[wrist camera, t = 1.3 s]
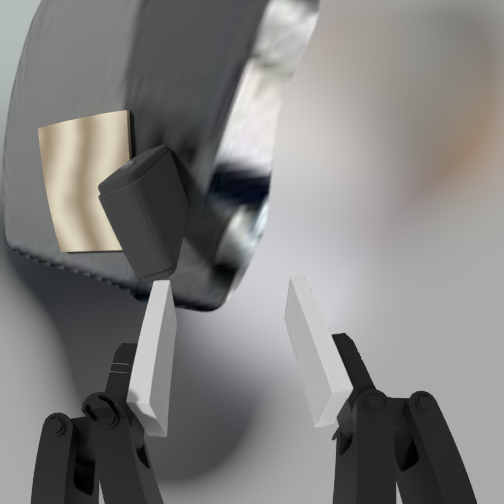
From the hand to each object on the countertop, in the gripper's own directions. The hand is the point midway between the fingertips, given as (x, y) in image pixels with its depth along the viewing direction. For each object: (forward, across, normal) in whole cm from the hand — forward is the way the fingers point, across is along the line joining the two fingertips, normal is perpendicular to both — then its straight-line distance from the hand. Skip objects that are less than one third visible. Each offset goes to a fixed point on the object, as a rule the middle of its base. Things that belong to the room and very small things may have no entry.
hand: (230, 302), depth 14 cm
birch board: (+23, -18, 0) cm, 29 cm away
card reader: (+23, -7, 0) cm, 24 cm away
